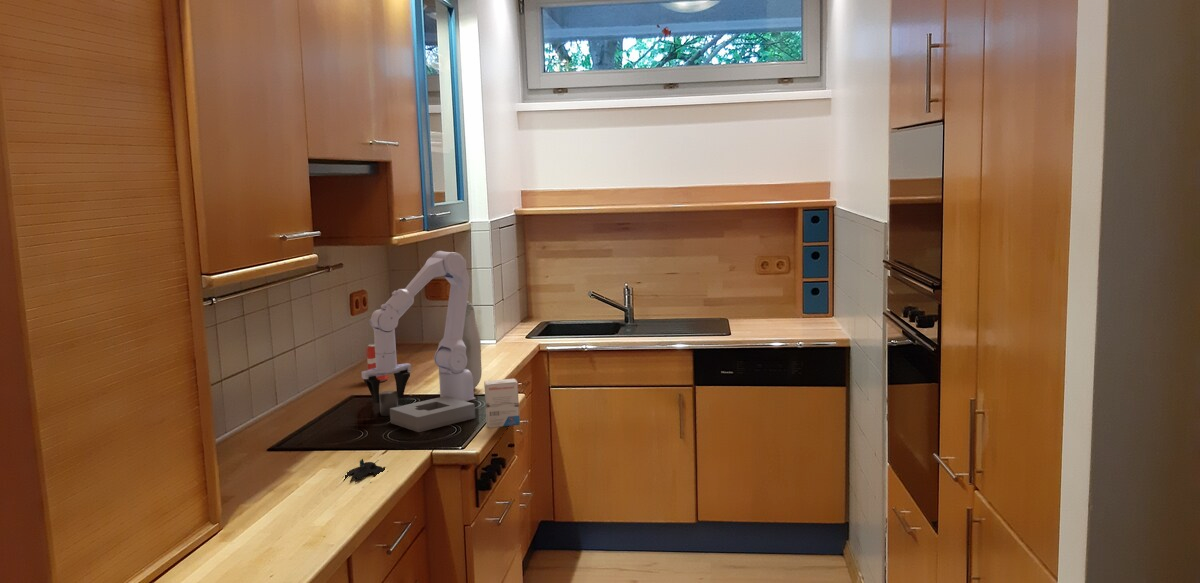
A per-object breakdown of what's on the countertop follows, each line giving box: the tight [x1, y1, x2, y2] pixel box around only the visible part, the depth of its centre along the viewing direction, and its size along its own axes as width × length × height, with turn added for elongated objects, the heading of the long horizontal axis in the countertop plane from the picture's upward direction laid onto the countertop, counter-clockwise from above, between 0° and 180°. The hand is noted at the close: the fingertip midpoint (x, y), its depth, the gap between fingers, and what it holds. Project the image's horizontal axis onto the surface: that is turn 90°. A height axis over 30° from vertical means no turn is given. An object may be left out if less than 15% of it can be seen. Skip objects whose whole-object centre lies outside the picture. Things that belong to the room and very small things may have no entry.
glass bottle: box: [462, 300, 483, 389], centre depth 282 cm, size 10×10×28 cm
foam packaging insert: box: [389, 396, 476, 433], centre depth 249 cm, size 18×14×4 cm
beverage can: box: [366, 343, 389, 383], centre depth 300 cm, size 6×6×12 cm
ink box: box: [483, 378, 521, 429], centre depth 242 cm, size 9×5×12 cm, turn 101°
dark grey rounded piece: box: [379, 390, 399, 417], centre depth 258 cm, size 6×5×6 cm
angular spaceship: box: [344, 458, 387, 483], centre depth 204 cm, size 11×15×3 cm
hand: (388, 399), depth 257 cm, fingers open, 7 cm apart
